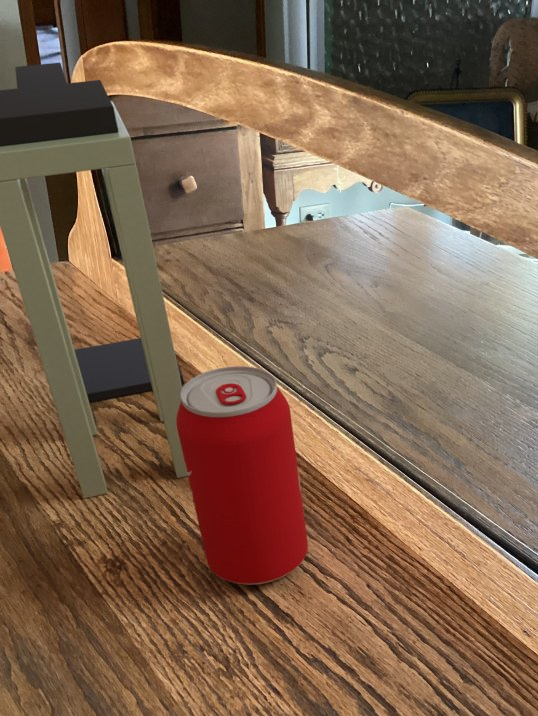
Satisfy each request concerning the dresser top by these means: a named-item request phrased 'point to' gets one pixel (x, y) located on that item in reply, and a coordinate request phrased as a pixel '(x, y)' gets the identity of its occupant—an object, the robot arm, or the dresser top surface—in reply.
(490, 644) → the dresser top surface
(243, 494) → the beverage can
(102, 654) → the dresser top surface
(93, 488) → the stool
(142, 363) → the charcoal mat
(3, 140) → the black t-shaped block
